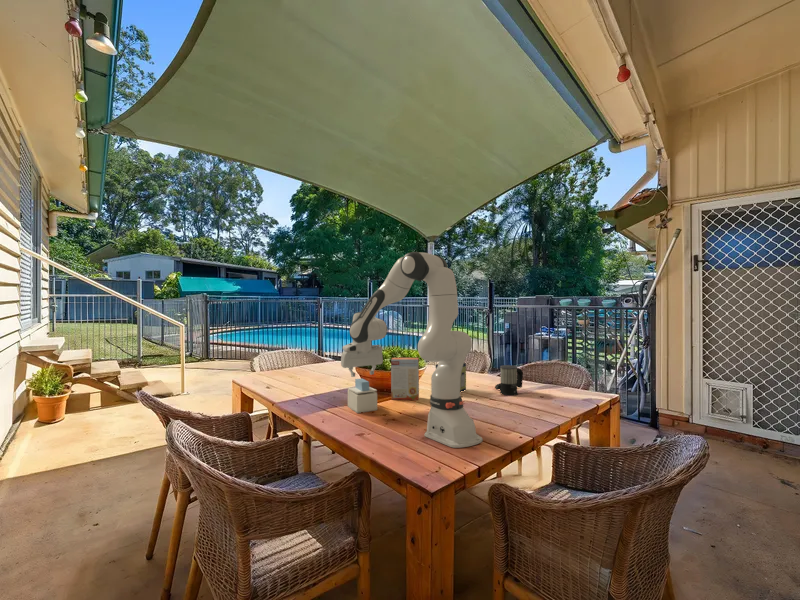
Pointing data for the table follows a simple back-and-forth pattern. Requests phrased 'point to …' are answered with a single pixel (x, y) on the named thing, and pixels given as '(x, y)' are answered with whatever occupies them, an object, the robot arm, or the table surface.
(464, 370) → the protein box
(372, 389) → the lid flap
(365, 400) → the carton
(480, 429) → the table surface
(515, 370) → the milk frother
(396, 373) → the cracker box
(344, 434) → the table surface
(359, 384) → the blue-gray rectangular block
